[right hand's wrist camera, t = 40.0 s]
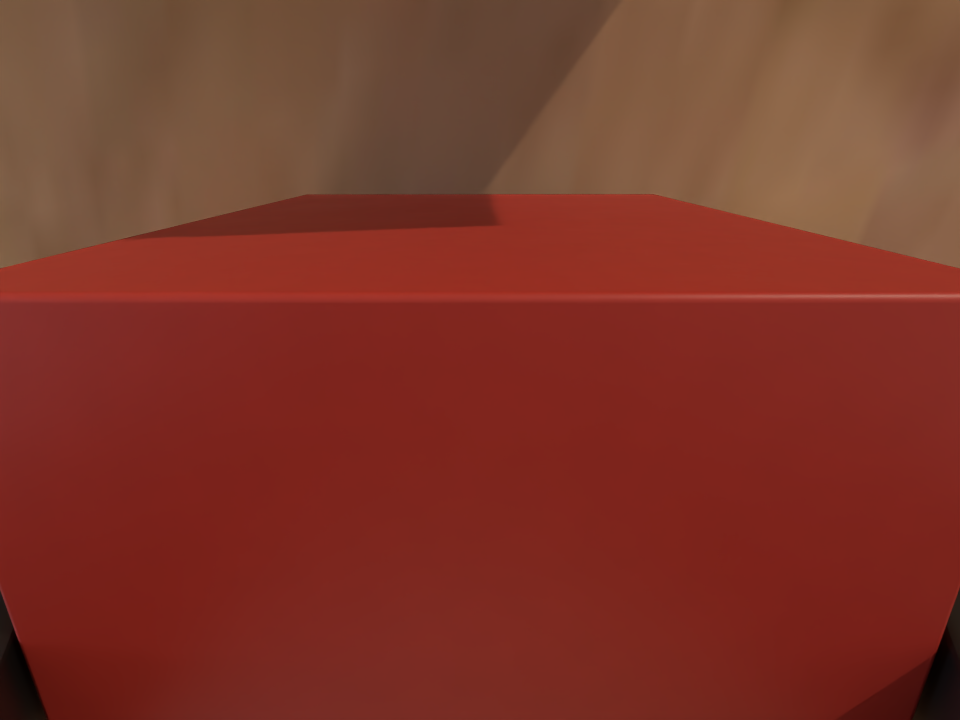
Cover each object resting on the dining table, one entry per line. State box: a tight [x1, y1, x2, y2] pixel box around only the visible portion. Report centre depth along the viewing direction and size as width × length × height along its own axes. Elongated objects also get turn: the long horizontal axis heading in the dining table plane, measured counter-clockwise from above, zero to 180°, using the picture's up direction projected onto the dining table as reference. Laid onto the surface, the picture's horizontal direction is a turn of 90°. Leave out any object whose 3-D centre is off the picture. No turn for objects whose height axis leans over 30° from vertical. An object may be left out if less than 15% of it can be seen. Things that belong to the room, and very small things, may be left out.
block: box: [0, 194, 960, 720], centre depth 11 cm, size 9×9×10 cm
